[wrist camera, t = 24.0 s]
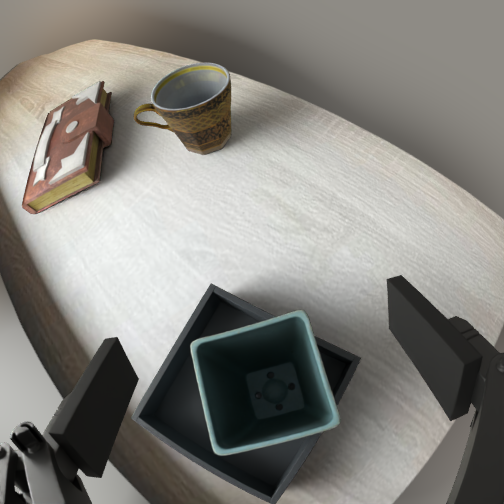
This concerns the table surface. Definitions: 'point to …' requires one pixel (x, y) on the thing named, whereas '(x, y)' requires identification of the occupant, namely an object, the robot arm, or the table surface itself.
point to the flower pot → (263, 384)
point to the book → (70, 149)
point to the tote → (192, 413)
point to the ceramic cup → (194, 106)
